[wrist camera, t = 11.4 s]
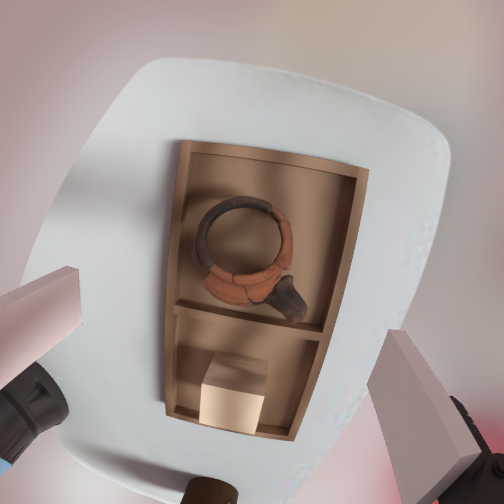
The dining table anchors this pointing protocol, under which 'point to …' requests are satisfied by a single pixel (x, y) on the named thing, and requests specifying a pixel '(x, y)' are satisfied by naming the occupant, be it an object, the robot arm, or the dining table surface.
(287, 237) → the pottery mug
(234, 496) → the olive oil
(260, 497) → the dining table surface
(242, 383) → the beech block
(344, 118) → the dining table surface
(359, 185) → the walnut tray
